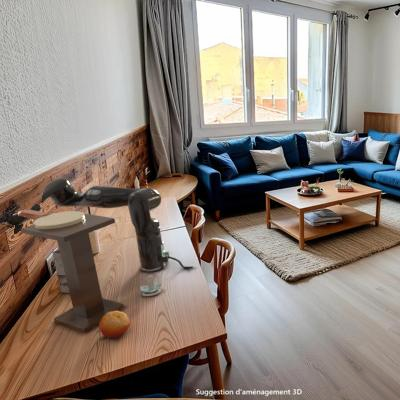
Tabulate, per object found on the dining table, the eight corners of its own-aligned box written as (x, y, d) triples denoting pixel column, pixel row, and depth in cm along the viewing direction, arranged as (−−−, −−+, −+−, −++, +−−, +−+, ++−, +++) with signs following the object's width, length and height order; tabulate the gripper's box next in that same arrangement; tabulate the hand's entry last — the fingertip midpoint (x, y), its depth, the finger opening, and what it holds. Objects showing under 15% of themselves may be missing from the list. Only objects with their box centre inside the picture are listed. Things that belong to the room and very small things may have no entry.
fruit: (101, 322, 106) (111, 302, 105) (126, 332, 108) (136, 312, 106) (88, 340, 99) (99, 318, 97) (115, 350, 100) (126, 329, 99)
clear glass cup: (162, 295, 124) (162, 286, 129) (159, 280, 122) (160, 271, 127) (140, 299, 121) (141, 290, 127) (137, 283, 119) (138, 275, 125)
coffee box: (75, 294, 125) (66, 253, 120) (60, 292, 126) (50, 252, 121) (94, 281, 133) (86, 243, 129) (80, 279, 135) (72, 241, 130)
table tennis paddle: (-1, 221, 106) (-2, 216, 106) (43, 208, 118) (42, 204, 117) (52, 231, 97) (51, 226, 96) (95, 217, 108) (94, 212, 108)
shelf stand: (47, 322, 109) (22, 228, 100) (93, 296, 123) (75, 211, 114) (86, 336, 102) (63, 237, 93) (130, 307, 116) (114, 218, 107)
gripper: (-27, 225, 112) (-8, 206, 104) (21, 212, 125) (41, 194, 117) (-15, 245, 112) (5, 228, 105) (32, 230, 125) (53, 213, 117)
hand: (24, 210), depth 111 cm, fingers open, 8 cm apart
